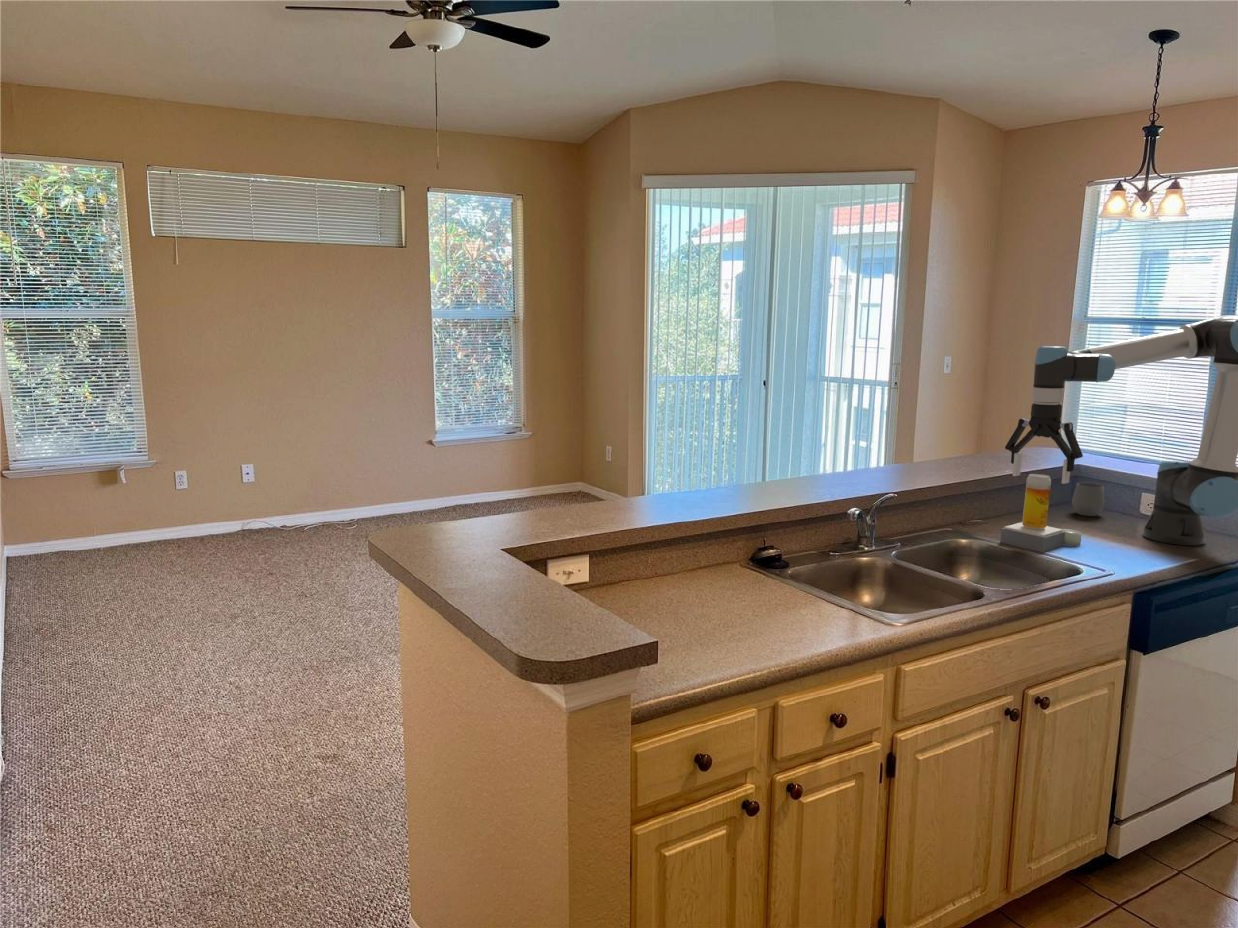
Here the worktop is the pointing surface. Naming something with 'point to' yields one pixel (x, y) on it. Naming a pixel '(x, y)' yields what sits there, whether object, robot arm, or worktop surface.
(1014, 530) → the podium
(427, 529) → the worktop surface
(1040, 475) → the glass of beer
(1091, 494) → the cup
